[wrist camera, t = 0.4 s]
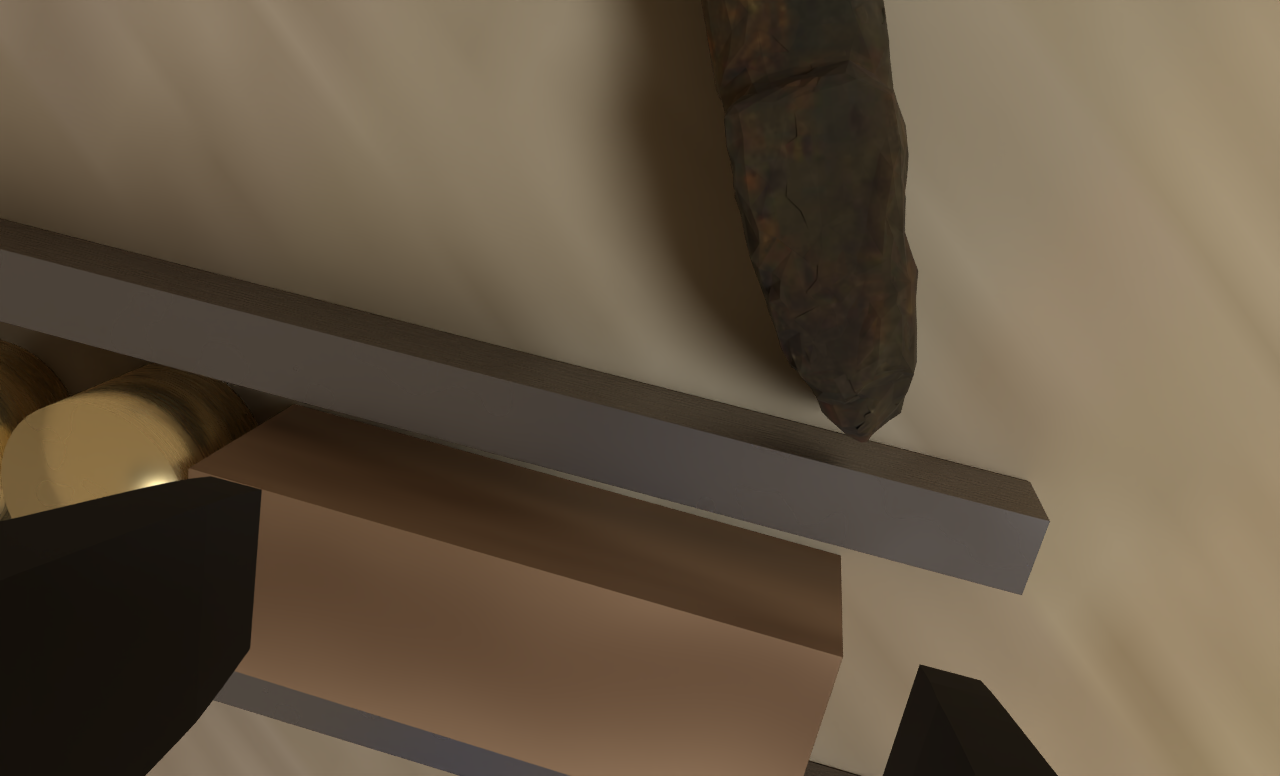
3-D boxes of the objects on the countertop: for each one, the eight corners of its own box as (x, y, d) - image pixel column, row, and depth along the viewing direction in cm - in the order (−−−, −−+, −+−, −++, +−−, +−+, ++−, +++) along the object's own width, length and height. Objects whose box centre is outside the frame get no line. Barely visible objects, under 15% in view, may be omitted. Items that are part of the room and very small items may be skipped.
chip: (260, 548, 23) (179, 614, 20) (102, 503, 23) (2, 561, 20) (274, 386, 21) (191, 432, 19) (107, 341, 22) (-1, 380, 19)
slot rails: (896, 846, 22) (901, 910, 20) (-69, 558, 24) (-136, 593, 23) (1030, 482, 19) (1049, 521, 17) (-82, 197, 21) (-159, 208, 20)
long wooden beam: (789, 708, 22) (781, 841, 18) (283, 559, 23) (176, 653, 19) (840, 550, 20) (842, 657, 17) (300, 400, 22) (188, 467, 18)
